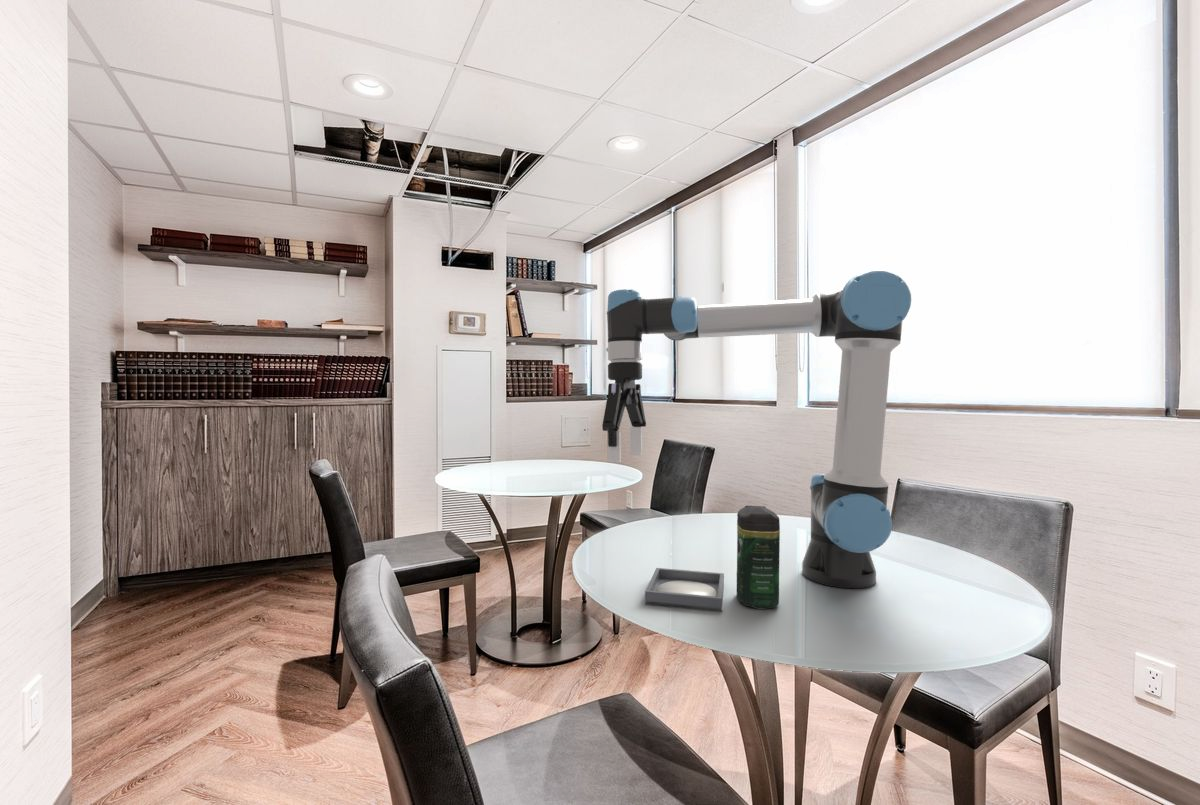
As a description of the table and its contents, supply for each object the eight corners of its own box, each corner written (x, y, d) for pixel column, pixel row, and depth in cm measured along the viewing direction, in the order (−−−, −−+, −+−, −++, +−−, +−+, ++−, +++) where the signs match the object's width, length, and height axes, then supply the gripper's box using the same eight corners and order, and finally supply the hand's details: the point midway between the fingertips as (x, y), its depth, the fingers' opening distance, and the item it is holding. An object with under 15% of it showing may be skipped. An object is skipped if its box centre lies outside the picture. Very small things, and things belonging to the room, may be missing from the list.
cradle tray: (723, 584, 114) (723, 573, 114) (721, 611, 100) (721, 598, 100) (656, 578, 118) (656, 567, 118) (645, 604, 104) (645, 591, 104)
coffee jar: (783, 611, 100) (784, 513, 100) (740, 609, 101) (740, 512, 101) (773, 592, 110) (773, 503, 110) (734, 591, 111) (734, 502, 111)
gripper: (628, 365, 130) (629, 452, 130) (585, 359, 107) (586, 464, 107) (658, 364, 127) (659, 453, 127) (620, 357, 104) (621, 466, 104)
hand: (625, 458), depth 117 cm, fingers open, 13 cm apart
